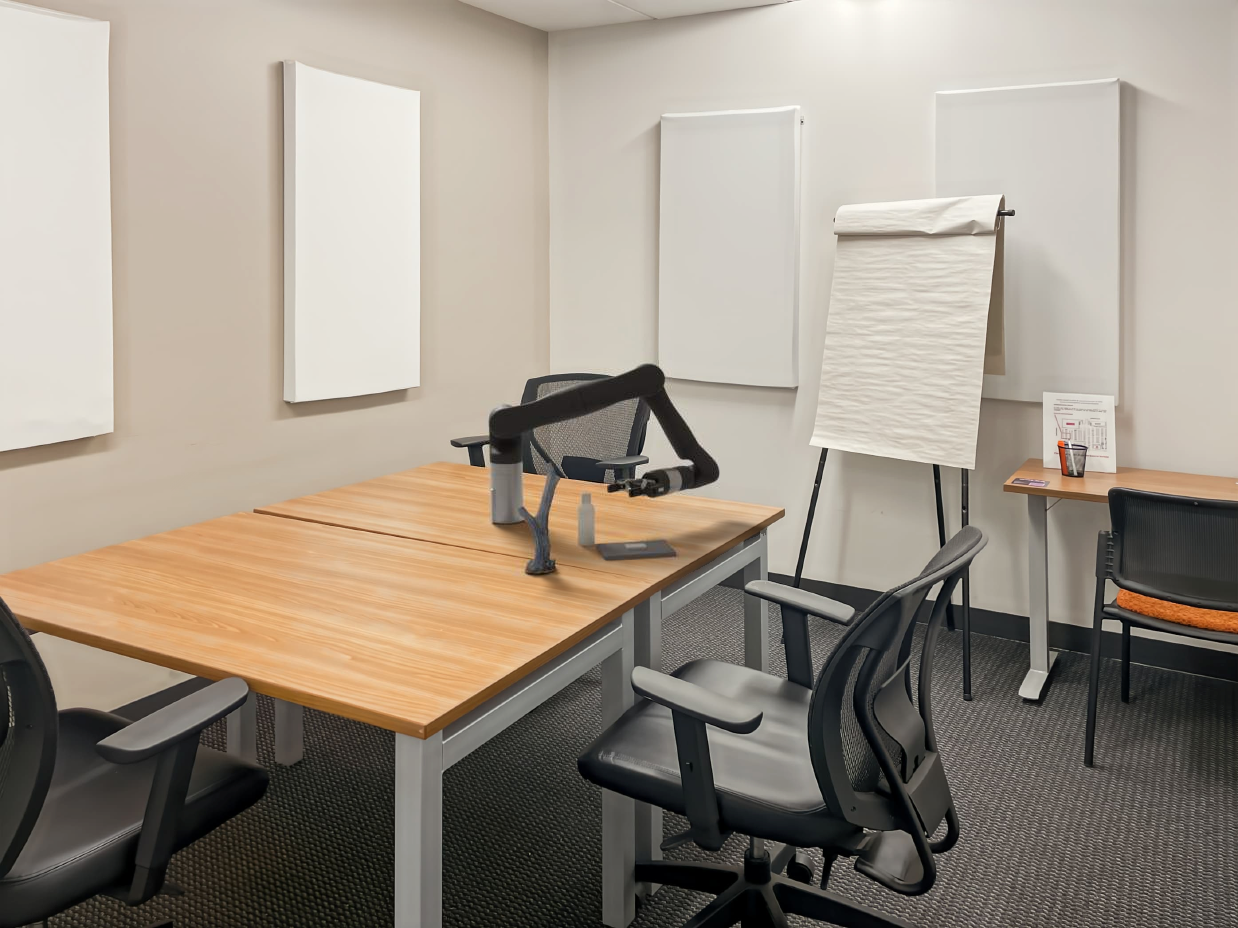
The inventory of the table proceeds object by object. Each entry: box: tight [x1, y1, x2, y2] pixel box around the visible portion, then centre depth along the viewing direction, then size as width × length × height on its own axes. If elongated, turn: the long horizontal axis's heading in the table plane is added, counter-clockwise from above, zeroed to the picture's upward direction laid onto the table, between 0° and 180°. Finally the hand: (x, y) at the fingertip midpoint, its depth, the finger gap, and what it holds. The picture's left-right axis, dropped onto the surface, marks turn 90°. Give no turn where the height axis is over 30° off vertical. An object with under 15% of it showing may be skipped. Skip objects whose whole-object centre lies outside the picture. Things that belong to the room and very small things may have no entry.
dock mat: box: [596, 539, 677, 561], centre depth 245 cm, size 18×12×2 cm, turn 101°
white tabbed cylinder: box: [577, 492, 596, 547], centre depth 252 cm, size 4×4×14 cm
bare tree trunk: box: [518, 462, 561, 574], centre depth 229 cm, size 12×8×25 cm
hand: (618, 491), depth 258 cm, fingers open, 8 cm apart
